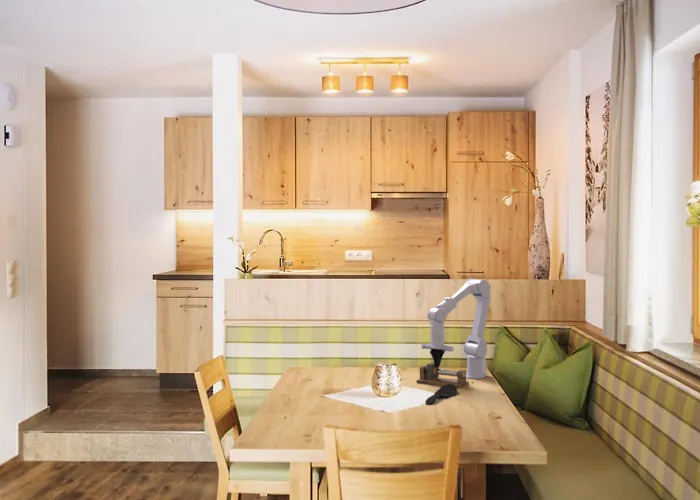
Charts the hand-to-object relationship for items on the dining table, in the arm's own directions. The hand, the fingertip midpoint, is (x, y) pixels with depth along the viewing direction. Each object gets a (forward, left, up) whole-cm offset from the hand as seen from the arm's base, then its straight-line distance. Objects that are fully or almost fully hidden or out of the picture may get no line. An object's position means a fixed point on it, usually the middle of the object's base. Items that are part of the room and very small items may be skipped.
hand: (437, 366), depth 293 cm
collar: (0, -2, -5) cm, 6 cm away
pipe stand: (0, +3, -7) cm, 8 cm away
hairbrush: (+22, +12, -8) cm, 27 cm away
